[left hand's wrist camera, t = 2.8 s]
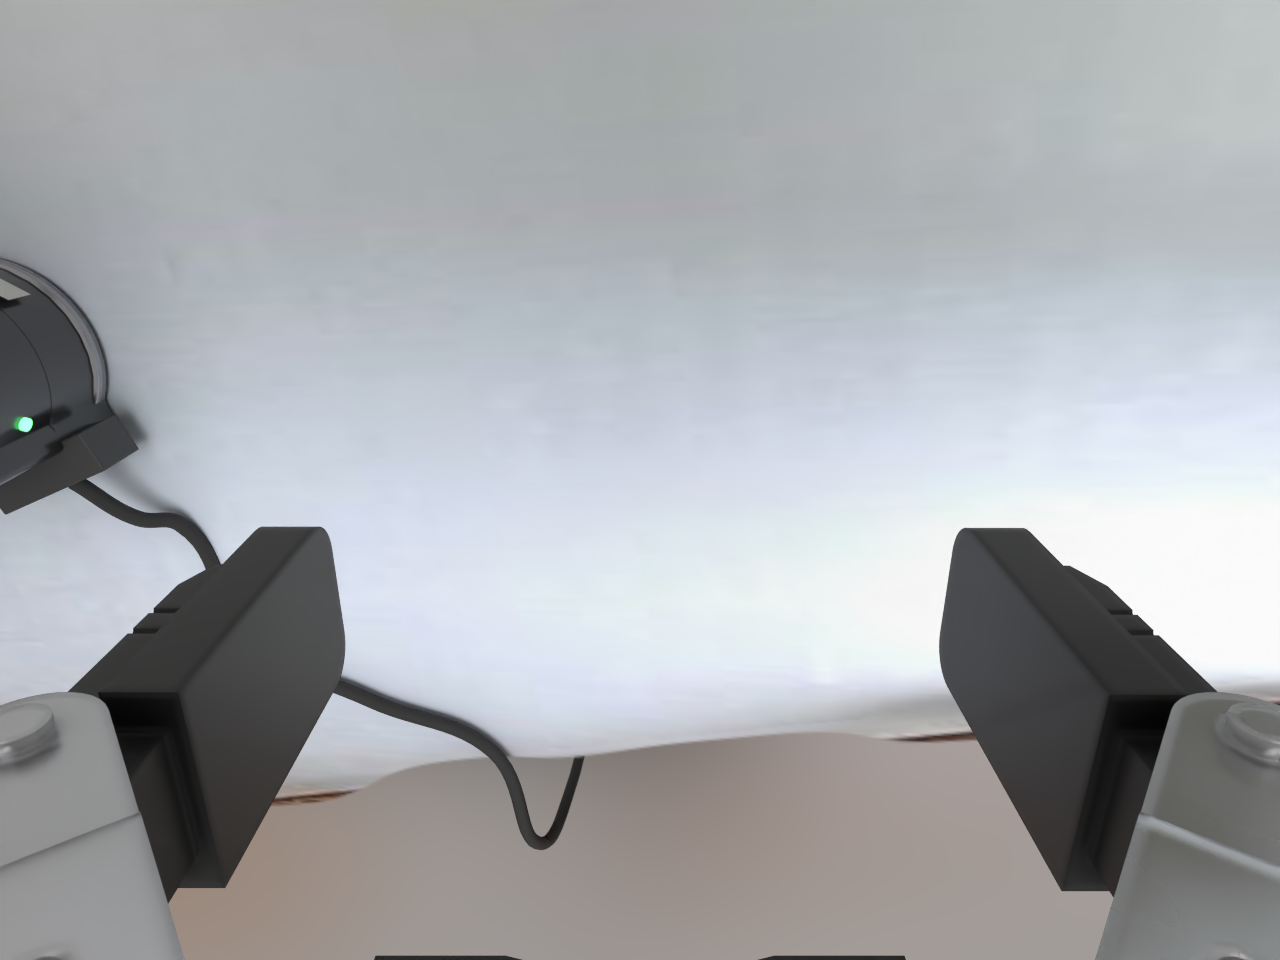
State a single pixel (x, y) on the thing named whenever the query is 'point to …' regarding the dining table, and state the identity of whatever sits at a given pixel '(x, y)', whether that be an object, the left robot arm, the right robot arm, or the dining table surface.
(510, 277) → the dining table surface
